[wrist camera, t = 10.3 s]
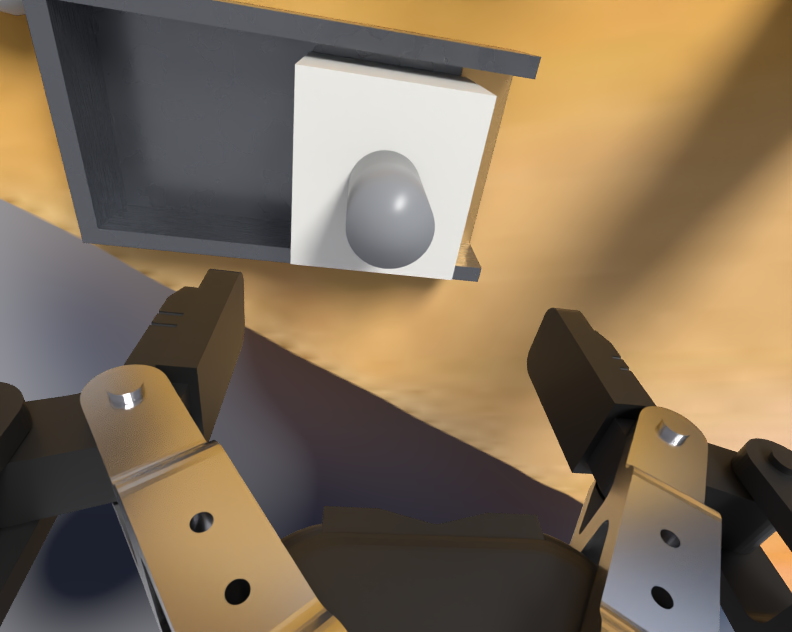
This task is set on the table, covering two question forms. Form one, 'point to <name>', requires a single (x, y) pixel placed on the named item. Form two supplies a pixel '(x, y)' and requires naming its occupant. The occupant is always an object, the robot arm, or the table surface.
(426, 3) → the table surface
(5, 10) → the tube
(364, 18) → the table surface
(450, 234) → the white knobbed block
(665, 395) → the table surface
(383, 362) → the table surface
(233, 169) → the bay
